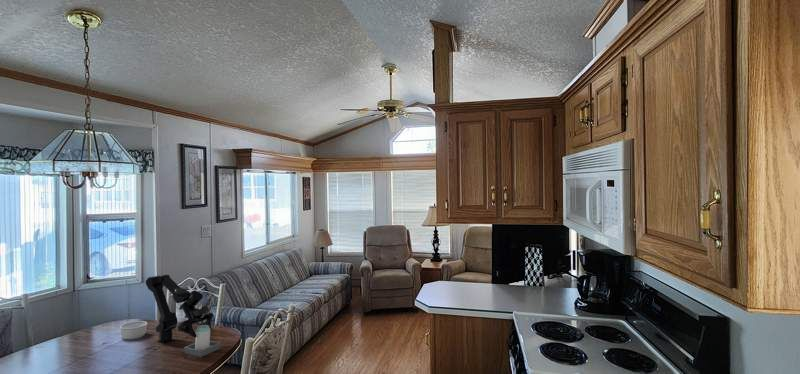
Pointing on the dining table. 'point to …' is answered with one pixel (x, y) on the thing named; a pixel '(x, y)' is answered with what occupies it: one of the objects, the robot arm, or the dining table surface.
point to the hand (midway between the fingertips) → (203, 334)
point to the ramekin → (133, 329)
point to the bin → (199, 353)
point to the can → (202, 337)
